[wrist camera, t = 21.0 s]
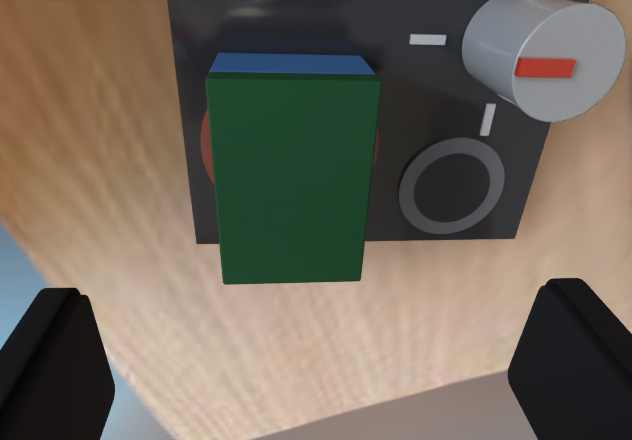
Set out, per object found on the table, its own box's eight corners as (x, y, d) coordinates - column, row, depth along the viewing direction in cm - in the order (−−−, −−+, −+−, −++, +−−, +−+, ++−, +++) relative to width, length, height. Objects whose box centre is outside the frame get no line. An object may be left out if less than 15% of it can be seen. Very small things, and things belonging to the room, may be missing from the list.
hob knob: (563, -8, 17) (653, 6, 13) (536, 87, 19) (608, 126, 15) (471, -11, 17) (536, 2, 13) (453, 86, 19) (504, 125, 15)
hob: (593, -69, 19) (638, -71, 16) (510, 214, 25) (533, 240, 23) (170, -89, 17) (154, -95, 15) (203, 217, 24) (195, 246, 22)
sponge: (361, 55, 18) (383, 81, 14) (346, 229, 22) (360, 282, 18) (218, 52, 17) (204, 78, 14) (230, 231, 21) (222, 285, 18)
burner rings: (536, 60, 19) (539, 61, 18) (489, 231, 23) (491, 234, 23) (192, 53, 17) (191, 54, 17) (210, 235, 22) (209, 238, 21)
